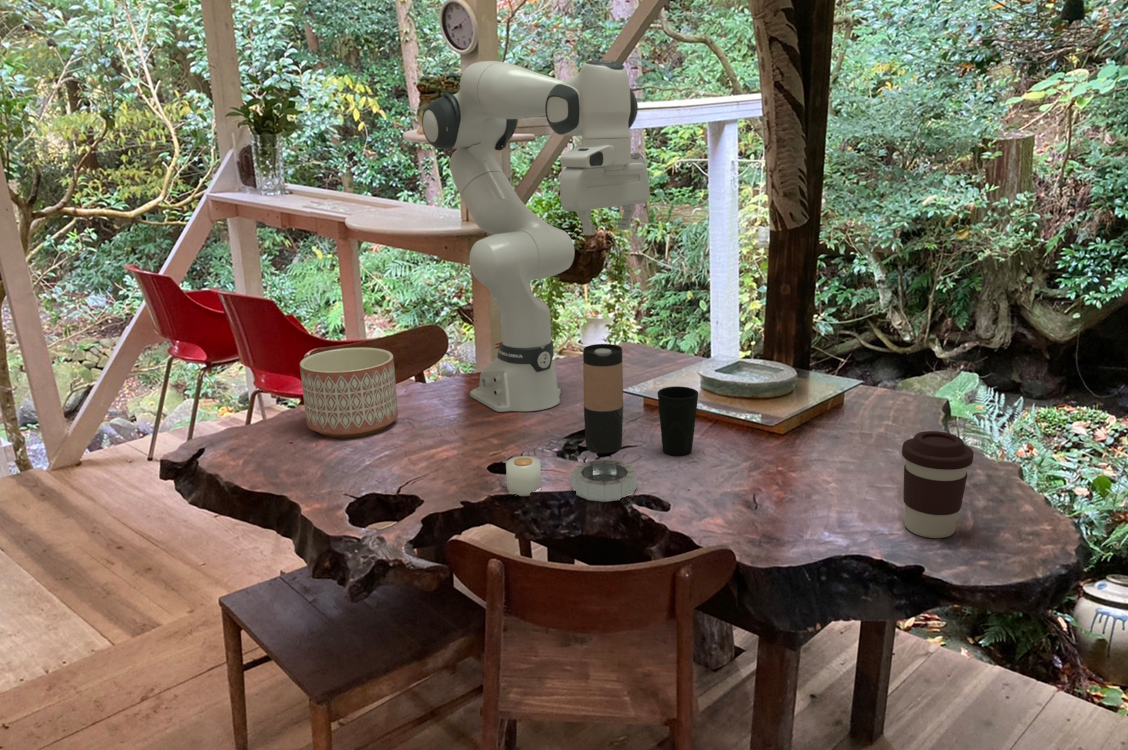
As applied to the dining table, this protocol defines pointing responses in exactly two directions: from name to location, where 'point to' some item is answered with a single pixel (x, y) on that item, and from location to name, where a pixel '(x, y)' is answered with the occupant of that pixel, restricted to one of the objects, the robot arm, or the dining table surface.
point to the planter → (349, 391)
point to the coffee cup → (934, 482)
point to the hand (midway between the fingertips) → (607, 231)
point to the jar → (523, 475)
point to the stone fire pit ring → (604, 480)
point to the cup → (677, 419)
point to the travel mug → (603, 397)
